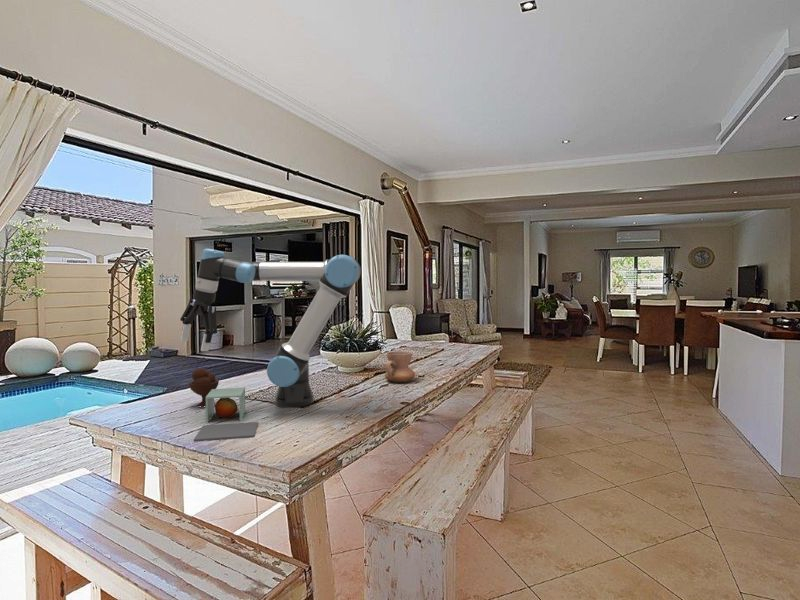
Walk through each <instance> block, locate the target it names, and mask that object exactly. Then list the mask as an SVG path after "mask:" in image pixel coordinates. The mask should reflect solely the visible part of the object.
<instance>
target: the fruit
mask: <svg viewBox="0 0 800 600" xmlns="http://www.w3.org/2000/svg"><path fill="white" fill-rule="evenodd" d="M238 408H239V407H238V404H237V402H236V401H235V399H233V398H232V397H231V398H218V400H217V401H216V402H215V403H214V412H215V415H216V417H215V418H216V419H217V418H222V419H230V418H232V417H234V416H235V414H237V412H238V411H239V410H238Z"/></svg>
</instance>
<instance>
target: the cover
mask: <svg viewBox="0 0 800 600" xmlns="http://www.w3.org/2000/svg"><path fill="white" fill-rule="evenodd" d="M220 398H231V399H232V398H238V399H239V402H238V403H239V404H238V406H239V407H238V408H239V421H242V420H243V418H244V415H245V414H244V413H246V412H247V411H246V387H244V386H243V387H230V388H229V387H227V388H216V389H212V390H211V391H210V392H209V394H208V395H207V396H206V407H205V421H206V422H208V421H209V422H210V420H211V419H212V417H213V416H214V414H215V399H220ZM212 415H213V416H212ZM210 418H211V419H210ZM206 422H205V423H206ZM209 422H208V423H209Z"/></svg>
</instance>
